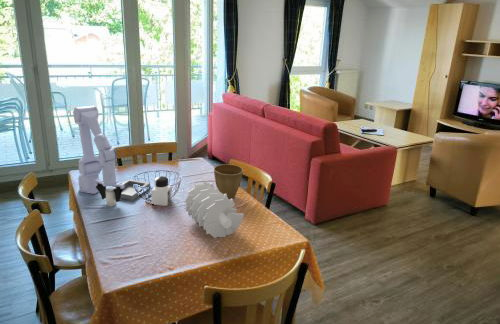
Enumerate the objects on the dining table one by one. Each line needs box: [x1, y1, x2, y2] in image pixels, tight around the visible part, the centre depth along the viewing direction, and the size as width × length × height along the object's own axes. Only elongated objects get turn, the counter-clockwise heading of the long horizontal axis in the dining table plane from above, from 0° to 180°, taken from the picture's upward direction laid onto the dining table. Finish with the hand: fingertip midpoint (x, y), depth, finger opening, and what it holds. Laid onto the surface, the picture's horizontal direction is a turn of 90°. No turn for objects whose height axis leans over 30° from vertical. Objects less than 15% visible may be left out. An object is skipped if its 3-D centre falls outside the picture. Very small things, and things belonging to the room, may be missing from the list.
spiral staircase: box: [184, 181, 245, 239], centre depth 164 cm, size 18×18×25 cm
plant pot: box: [213, 163, 244, 200], centre depth 193 cm, size 15×15×16 cm
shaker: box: [105, 186, 117, 207], centre depth 180 cm, size 4×4×8 cm
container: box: [150, 175, 172, 207], centre depth 185 cm, size 8×8×13 cm
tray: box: [114, 178, 151, 202], centre depth 195 cm, size 13×17×3 cm
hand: (111, 199), depth 181 cm, fingers open, 7 cm apart
